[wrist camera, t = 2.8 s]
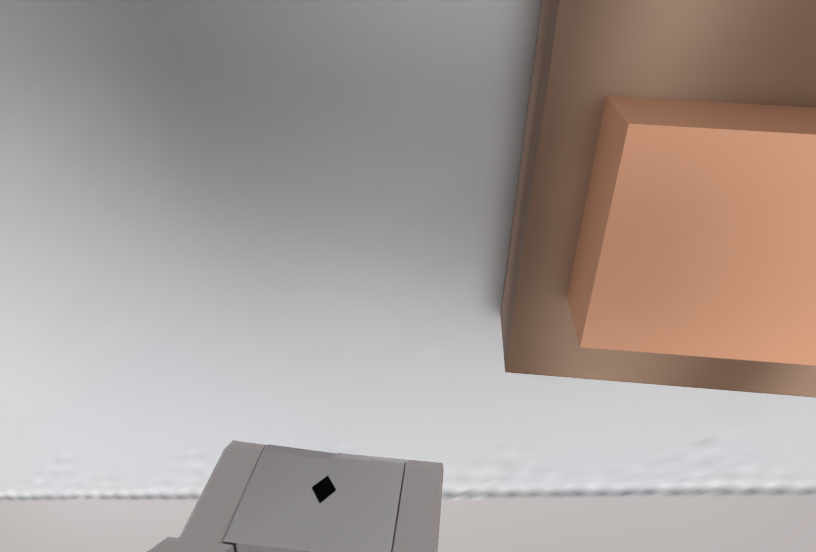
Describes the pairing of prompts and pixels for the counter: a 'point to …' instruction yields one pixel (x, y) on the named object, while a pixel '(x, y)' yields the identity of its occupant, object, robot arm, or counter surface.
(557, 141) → the brown wooden square block
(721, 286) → the terracotta tile
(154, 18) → the counter surface
